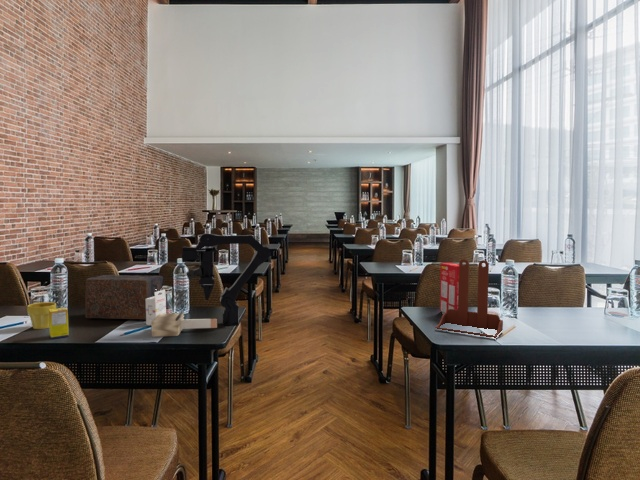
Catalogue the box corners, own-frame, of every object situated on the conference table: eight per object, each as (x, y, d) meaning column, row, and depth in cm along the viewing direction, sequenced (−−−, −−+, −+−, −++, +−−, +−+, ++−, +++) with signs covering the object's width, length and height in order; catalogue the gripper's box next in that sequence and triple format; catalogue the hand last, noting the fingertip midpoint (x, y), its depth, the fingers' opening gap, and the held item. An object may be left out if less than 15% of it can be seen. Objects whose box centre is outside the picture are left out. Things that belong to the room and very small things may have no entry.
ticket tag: (216, 326, 181) (216, 318, 181) (216, 327, 180) (216, 319, 180) (177, 328, 179) (177, 319, 179) (176, 329, 178) (176, 320, 177)
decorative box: (102, 314, 212) (80, 320, 192) (104, 273, 213) (83, 274, 193) (165, 316, 212) (149, 321, 192) (166, 275, 214) (151, 276, 194)
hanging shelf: (435, 331, 182) (436, 260, 180) (444, 324, 193) (446, 257, 191) (495, 340, 168) (497, 264, 167) (502, 333, 179) (504, 261, 178)
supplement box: (66, 333, 174) (65, 306, 173) (68, 336, 169) (68, 309, 168) (48, 336, 170) (48, 308, 169) (51, 339, 165) (50, 311, 165)
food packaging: (465, 319, 203) (466, 266, 201) (455, 319, 202) (456, 266, 200) (449, 312, 217) (450, 262, 216) (439, 312, 216) (440, 263, 215)
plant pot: (58, 327, 182) (57, 305, 182) (28, 331, 176) (28, 308, 176) (55, 323, 191) (54, 301, 190) (27, 326, 184) (26, 303, 184)
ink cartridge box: (156, 320, 196) (156, 288, 195) (166, 321, 195) (166, 289, 194) (145, 325, 188) (144, 291, 187) (155, 326, 187) (155, 292, 186)
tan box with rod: (183, 326, 185) (183, 310, 185) (178, 335, 172) (177, 318, 171) (159, 327, 184) (159, 311, 184) (151, 336, 170) (151, 319, 170)
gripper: (188, 260, 194) (188, 294, 195) (186, 264, 176) (186, 302, 177) (214, 259, 197) (214, 293, 198) (214, 264, 179) (214, 301, 180)
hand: (207, 297), depth 188 cm, fingers open, 9 cm apart
